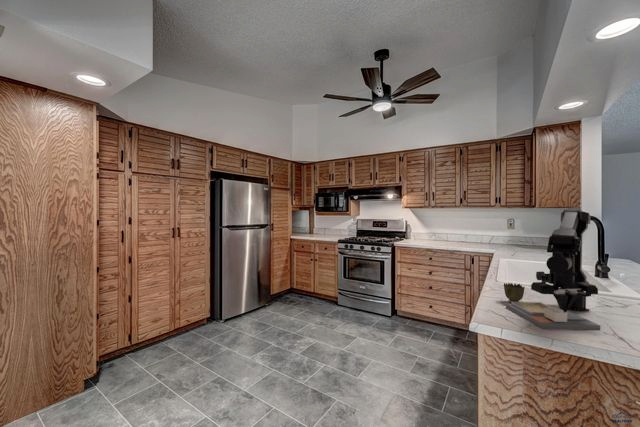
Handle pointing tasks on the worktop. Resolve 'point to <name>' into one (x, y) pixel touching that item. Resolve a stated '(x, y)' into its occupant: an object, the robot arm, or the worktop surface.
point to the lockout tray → (531, 307)
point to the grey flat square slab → (544, 322)
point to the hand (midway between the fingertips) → (563, 311)
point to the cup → (514, 292)
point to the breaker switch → (555, 314)
